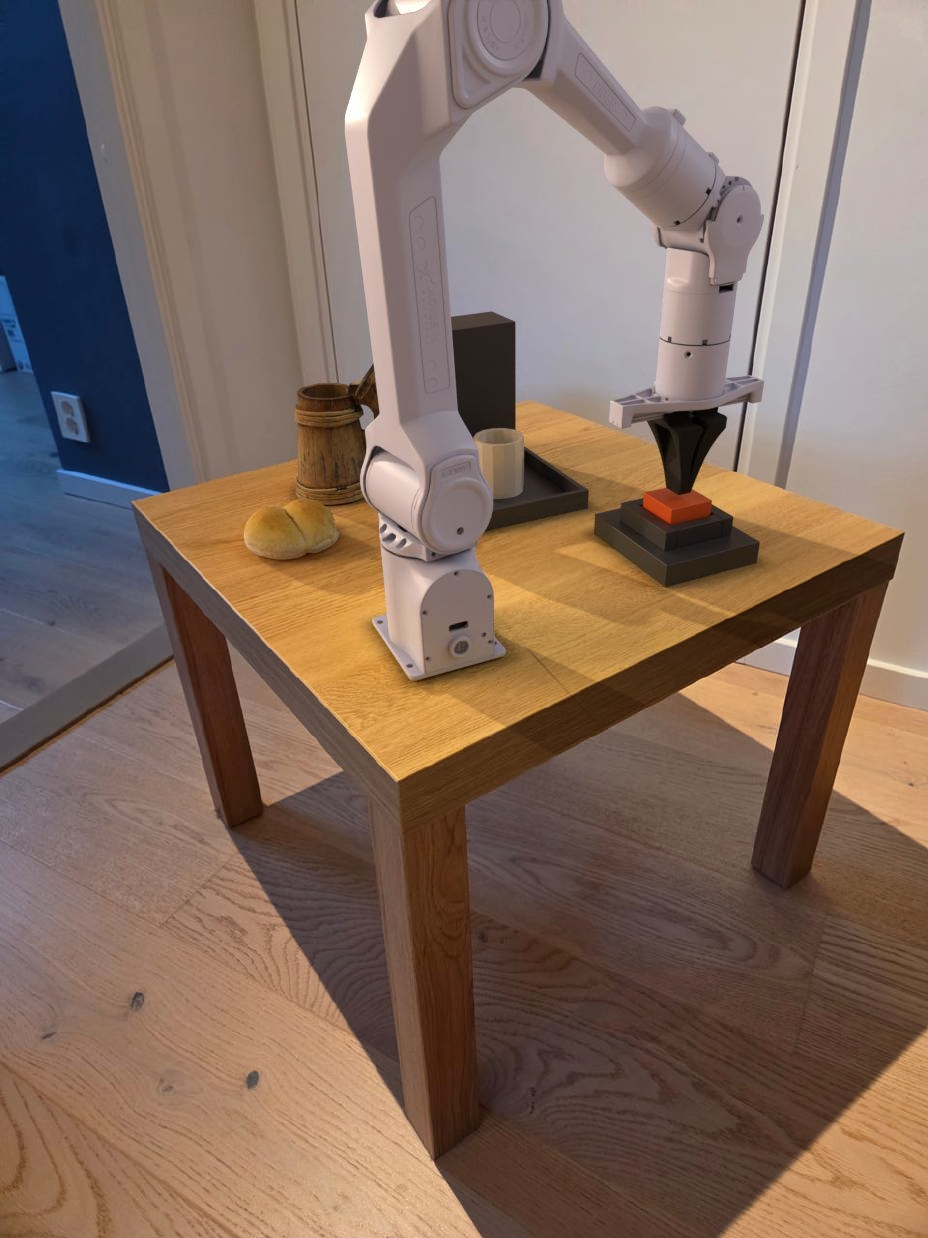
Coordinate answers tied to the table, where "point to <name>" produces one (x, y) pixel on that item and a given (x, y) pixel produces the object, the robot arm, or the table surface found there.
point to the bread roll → (291, 530)
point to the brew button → (676, 505)
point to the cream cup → (502, 460)
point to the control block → (676, 543)
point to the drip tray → (539, 495)
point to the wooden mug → (333, 439)
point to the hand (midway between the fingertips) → (678, 490)
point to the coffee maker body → (485, 370)
